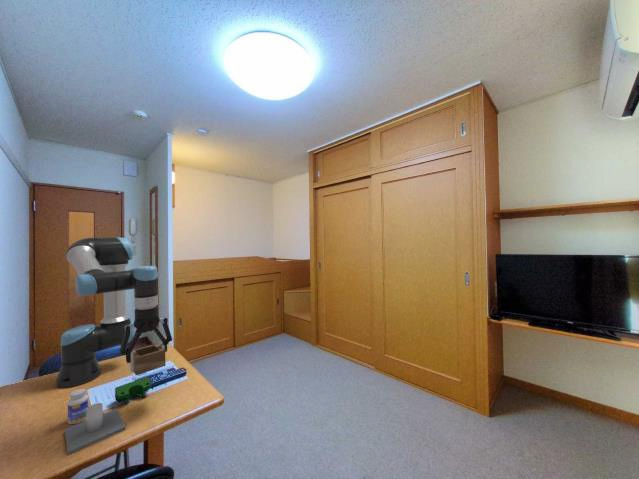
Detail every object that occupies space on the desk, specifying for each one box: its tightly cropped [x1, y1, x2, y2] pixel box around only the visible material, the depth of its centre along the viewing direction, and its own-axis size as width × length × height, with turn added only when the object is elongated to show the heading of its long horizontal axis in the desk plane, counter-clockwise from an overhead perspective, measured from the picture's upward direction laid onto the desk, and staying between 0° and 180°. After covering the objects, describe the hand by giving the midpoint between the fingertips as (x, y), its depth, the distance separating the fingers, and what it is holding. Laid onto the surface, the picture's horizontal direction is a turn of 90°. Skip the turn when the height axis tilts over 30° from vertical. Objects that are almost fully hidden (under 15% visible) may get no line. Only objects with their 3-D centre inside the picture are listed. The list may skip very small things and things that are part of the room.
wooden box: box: [132, 342, 166, 376], centre depth 101 cm, size 10×10×6 cm
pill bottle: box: [67, 388, 89, 425], centre depth 94 cm, size 5×5×10 cm
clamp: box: [114, 376, 153, 405], centre depth 106 cm, size 12×6×9 cm, turn 132°
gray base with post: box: [64, 402, 127, 456], centre depth 88 cm, size 14×14×8 cm
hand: (147, 365), depth 101 cm, fingers closed on wooden box, 9 cm apart
